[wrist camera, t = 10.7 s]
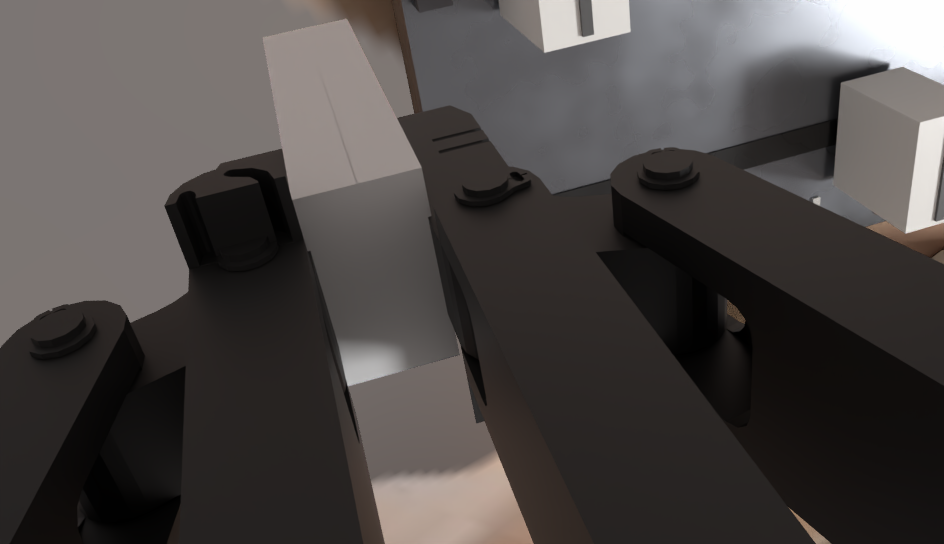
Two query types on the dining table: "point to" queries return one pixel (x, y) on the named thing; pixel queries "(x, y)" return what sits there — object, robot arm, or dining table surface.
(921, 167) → the fader
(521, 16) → the fader
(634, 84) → the console
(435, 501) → the dining table surface
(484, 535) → the dining table surface
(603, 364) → the robot arm
